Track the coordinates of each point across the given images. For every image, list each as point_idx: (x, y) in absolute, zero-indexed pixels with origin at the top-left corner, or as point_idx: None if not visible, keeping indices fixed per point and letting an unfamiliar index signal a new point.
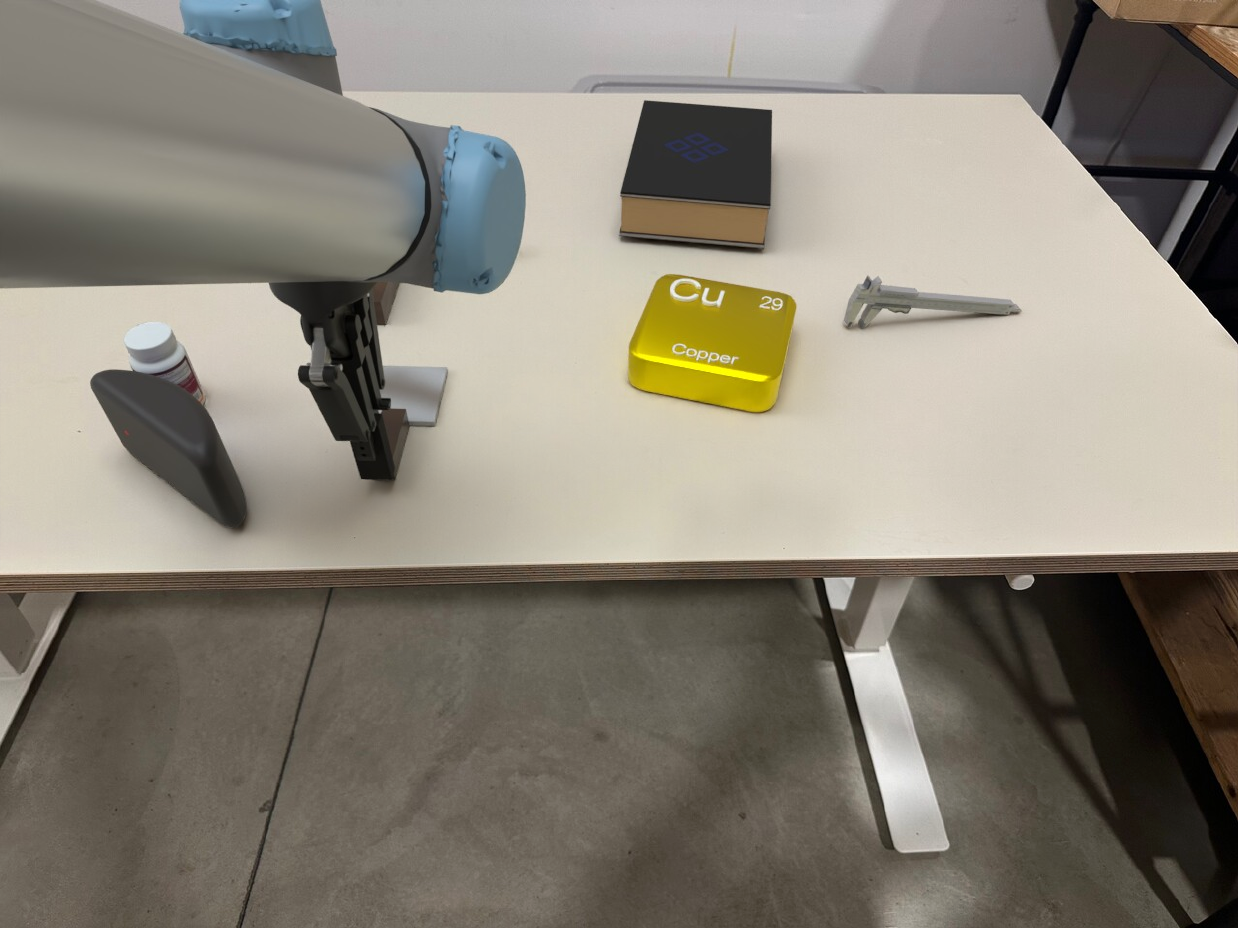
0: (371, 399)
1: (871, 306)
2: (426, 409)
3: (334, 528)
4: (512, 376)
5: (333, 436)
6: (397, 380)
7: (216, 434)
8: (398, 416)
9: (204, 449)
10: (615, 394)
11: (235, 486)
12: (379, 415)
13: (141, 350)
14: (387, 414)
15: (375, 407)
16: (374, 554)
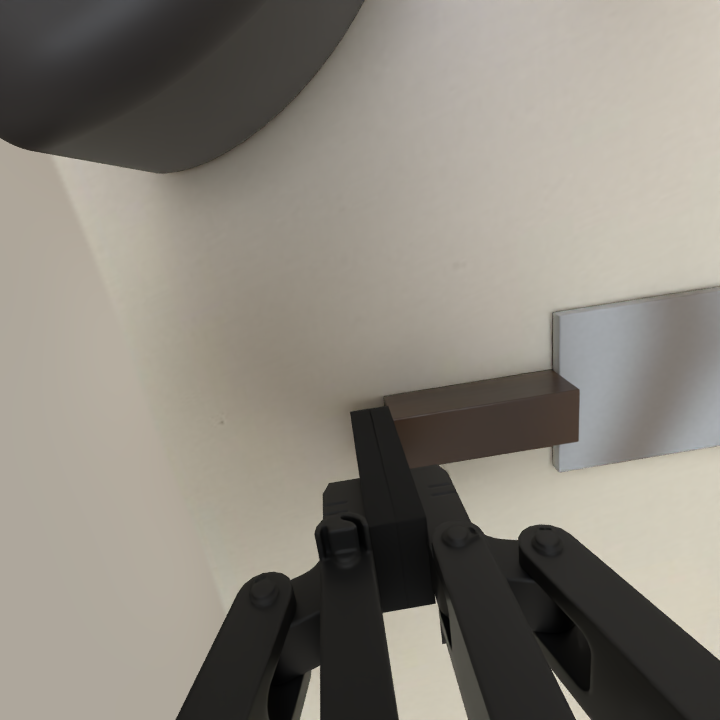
0: (449, 639)
1: None
2: (597, 445)
3: (234, 374)
4: (701, 554)
5: (228, 612)
6: (699, 352)
7: (163, 83)
8: (551, 435)
9: (1, 94)
10: None
11: (179, 153)
12: (424, 601)
13: None
14: (557, 409)
15: (439, 613)
16: (191, 472)
